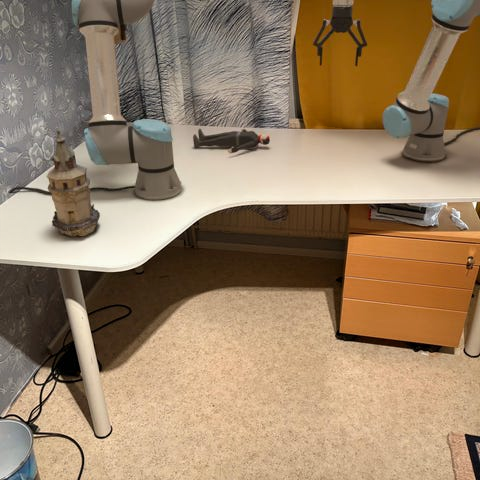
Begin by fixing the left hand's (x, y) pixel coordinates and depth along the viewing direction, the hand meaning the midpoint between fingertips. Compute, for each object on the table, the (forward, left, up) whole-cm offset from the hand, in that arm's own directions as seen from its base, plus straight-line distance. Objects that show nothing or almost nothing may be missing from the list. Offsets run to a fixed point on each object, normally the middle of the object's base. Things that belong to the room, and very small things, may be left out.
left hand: (115, 39), depth 211 cm
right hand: (+86, -16, -9) cm, 88 cm away
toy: (+44, -21, -39) cm, 62 cm away
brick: (0, 0, -1) cm, 1 cm away
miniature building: (-6, -85, -39) cm, 94 cm away
